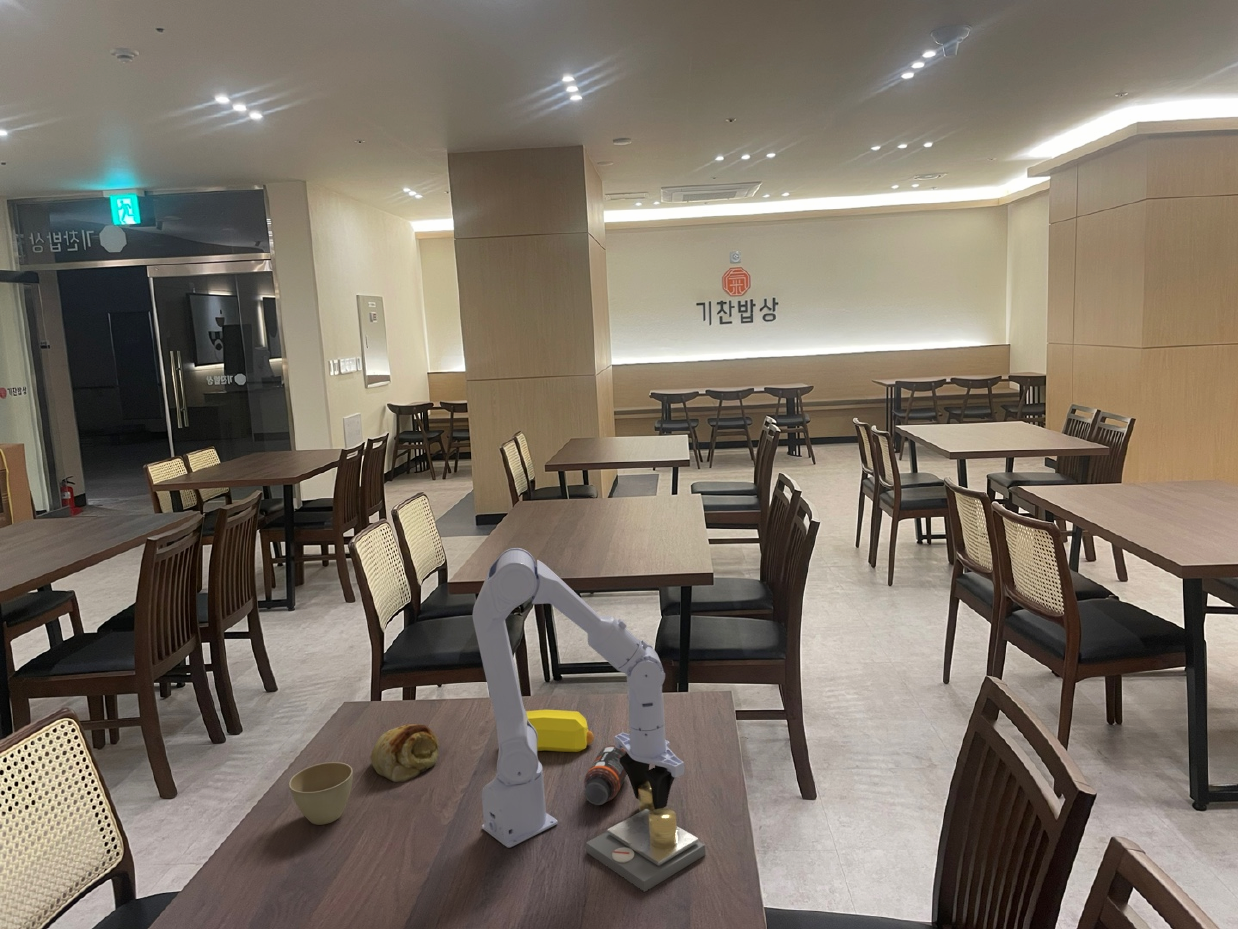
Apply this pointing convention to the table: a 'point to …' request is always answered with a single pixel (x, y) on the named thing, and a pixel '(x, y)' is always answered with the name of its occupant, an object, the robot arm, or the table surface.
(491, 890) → the table surface
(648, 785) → the cylinder
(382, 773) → the pastry
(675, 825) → the cylinder
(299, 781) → the flower pot
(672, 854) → the pan
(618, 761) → the supplement bottle
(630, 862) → the scale
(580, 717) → the yellow mustard bottle
